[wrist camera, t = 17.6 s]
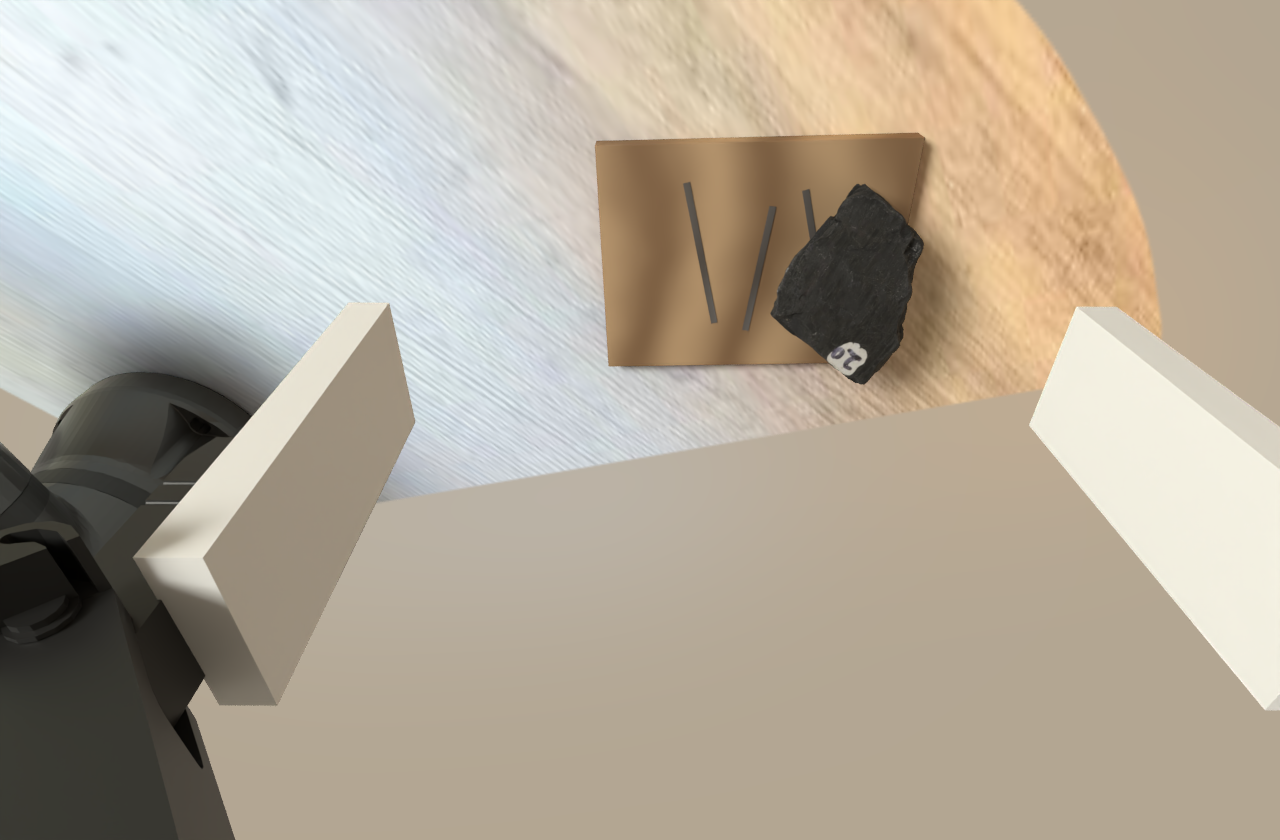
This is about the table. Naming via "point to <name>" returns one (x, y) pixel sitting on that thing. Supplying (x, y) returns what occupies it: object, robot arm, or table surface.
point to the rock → (852, 285)
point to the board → (725, 236)
